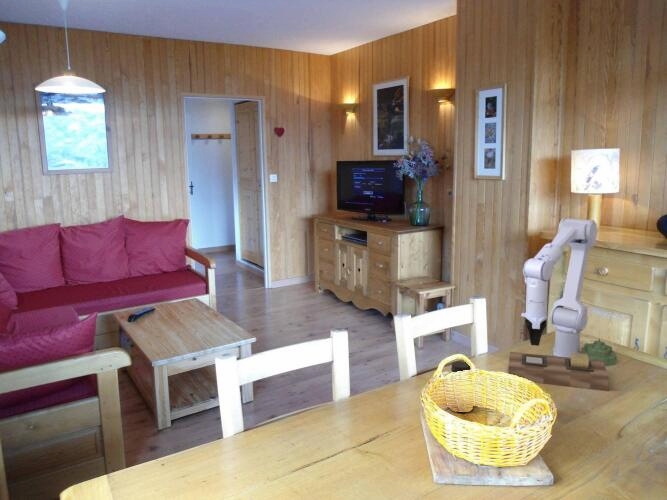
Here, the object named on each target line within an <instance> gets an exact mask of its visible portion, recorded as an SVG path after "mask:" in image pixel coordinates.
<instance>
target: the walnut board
mask: <svg viewBox="0 0 667 500" xmlns="http://www.w3.org/2000/svg"><path fill="white" fill-rule="evenodd" d="M526 356H527V357H537V358H542V364H537V363H527V362H526ZM569 365H570V358H569V357H558V356H553V355H546V354H539V353H538V354H535V353H527V352H525V353H524V352H516V351H509V358H508V365H507V366H508V367H507V369H508V370H507V374H508V373H509V374H513V375H517V376H519V377H523V378H526V379H528V380H531V381H533V382H535V383H534V384H541V385H551V386H558V387H559V386H561V387H569V388H578V389H585V390H596V391H603V392H608V391H609V379H610V377H609V374H608V371H607V369H606V366H605V365H604V362H603V361H600V360H589V364H588V369H586V368H576V367H570V366H569ZM533 382H532V383H533Z"/></svg>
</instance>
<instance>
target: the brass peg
mask: <svg viewBox="0 0 667 500" xmlns="http://www.w3.org/2000/svg"><path fill="white" fill-rule="evenodd" d="M588 364H589V359H588V355H587V354H581V352H580V353H570V365H569V366H570V367H576V368H586V369H588Z"/></svg>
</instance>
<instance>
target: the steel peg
mask: <svg viewBox="0 0 667 500" xmlns="http://www.w3.org/2000/svg"><path fill="white" fill-rule="evenodd" d="M526 362H527V363H537V364H542V358H537V357H527V356H526Z"/></svg>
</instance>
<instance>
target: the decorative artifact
mask: <svg viewBox="0 0 667 500" xmlns="http://www.w3.org/2000/svg"><path fill="white" fill-rule="evenodd" d="M583 346H584V347H582V348H581V349H580V354H587V355H588V359H589V360H600V361H603V362H604V365H605V367H612V366H614V365H616V364H617V356H618V355H617V353H616V352H615V351H614V350H613V347H612V346H611V345H609V344H606V343H605V342H604V341H602V340H601V339H600V338H598V340H595V341H593V343H592V342H591V343H589V342H587V343H585V344H584V345H583Z"/></svg>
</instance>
